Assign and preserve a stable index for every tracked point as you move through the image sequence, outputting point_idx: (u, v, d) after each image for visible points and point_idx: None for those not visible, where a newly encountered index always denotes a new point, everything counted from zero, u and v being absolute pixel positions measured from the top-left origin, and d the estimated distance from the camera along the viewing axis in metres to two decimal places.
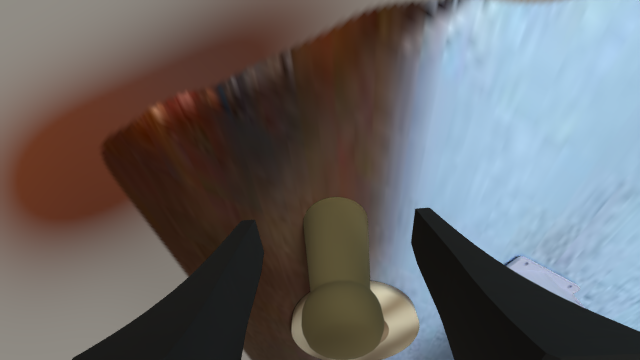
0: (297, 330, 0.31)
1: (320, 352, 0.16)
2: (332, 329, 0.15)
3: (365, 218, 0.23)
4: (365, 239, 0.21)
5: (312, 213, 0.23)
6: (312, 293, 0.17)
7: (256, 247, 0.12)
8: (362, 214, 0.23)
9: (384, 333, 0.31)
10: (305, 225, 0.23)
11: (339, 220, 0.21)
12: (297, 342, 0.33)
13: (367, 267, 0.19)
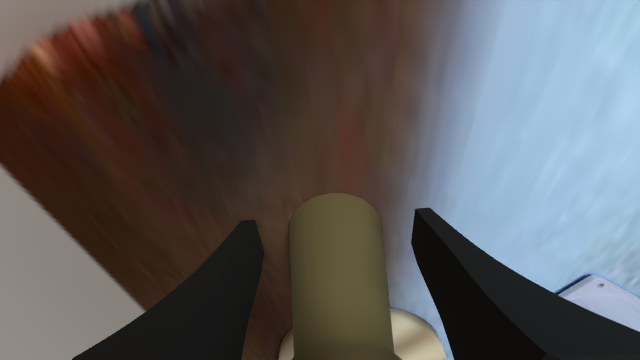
0: None
1: None
2: None
3: (379, 224, 0.16)
4: (381, 257, 0.14)
5: (300, 217, 0.15)
6: None
7: (256, 247, 0.12)
8: (374, 218, 0.16)
9: None
10: (290, 234, 0.16)
11: (340, 228, 0.14)
12: None
13: (387, 307, 0.12)
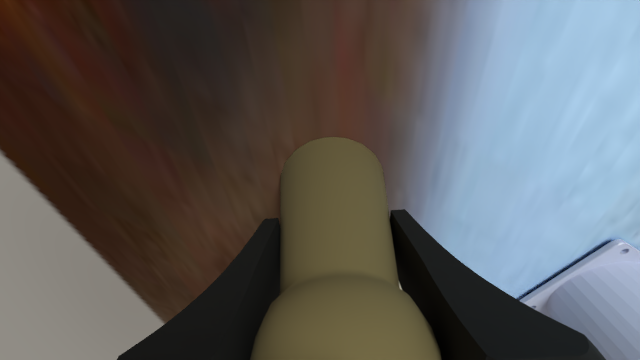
0: None
1: None
2: None
3: (381, 173, 0.14)
4: (384, 202, 0.12)
5: (292, 163, 0.14)
6: (276, 302, 0.07)
7: (279, 246, 0.12)
8: (376, 165, 0.14)
9: None
10: (281, 184, 0.14)
11: (338, 167, 0.12)
12: None
13: (392, 249, 0.10)
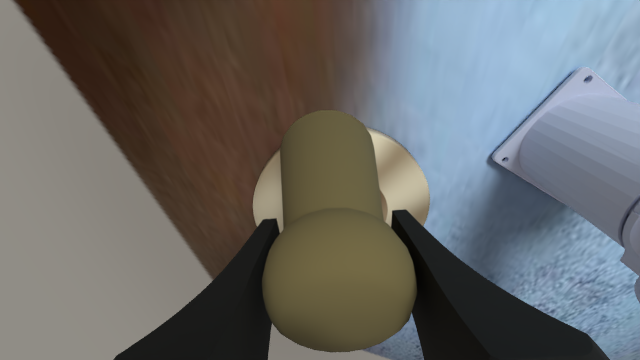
0: (261, 212, 0.23)
1: (299, 340, 0.08)
2: (313, 292, 0.07)
3: (370, 139, 0.15)
4: (371, 162, 0.13)
5: (289, 136, 0.15)
6: (279, 235, 0.09)
7: None
8: (365, 133, 0.15)
9: None
10: (281, 156, 0.16)
11: (328, 134, 0.13)
12: None
13: (377, 197, 0.11)
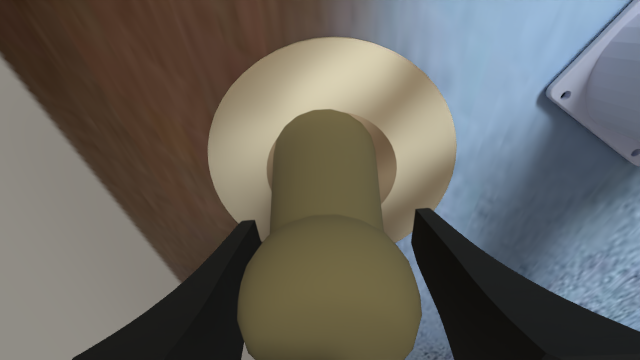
0: (221, 170, 0.16)
1: None
2: (290, 319, 0.06)
3: (369, 139, 0.14)
4: (370, 163, 0.12)
5: (282, 138, 0.14)
6: (259, 247, 0.08)
7: (256, 247, 0.12)
8: (363, 132, 0.14)
9: (388, 177, 0.16)
10: (273, 160, 0.15)
11: (321, 133, 0.12)
12: (227, 204, 0.18)
13: (376, 202, 0.10)
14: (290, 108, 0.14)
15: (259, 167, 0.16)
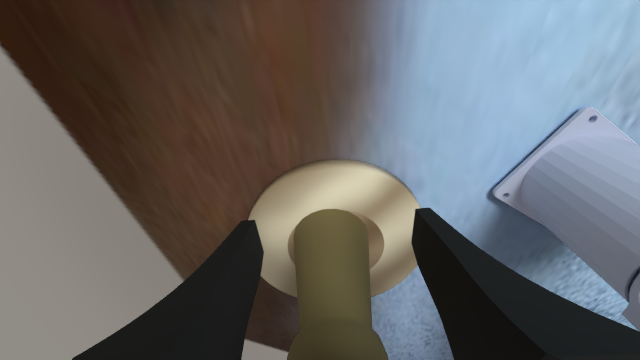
0: None
1: None
2: None
3: (363, 230, 0.20)
4: (363, 258, 0.18)
5: (301, 230, 0.20)
6: (297, 337, 0.13)
7: (256, 247, 0.12)
8: (359, 226, 0.20)
9: (378, 249, 0.22)
10: (294, 244, 0.20)
11: (330, 237, 0.18)
12: None
13: (366, 294, 0.16)
14: (306, 207, 0.20)
15: (282, 243, 0.22)
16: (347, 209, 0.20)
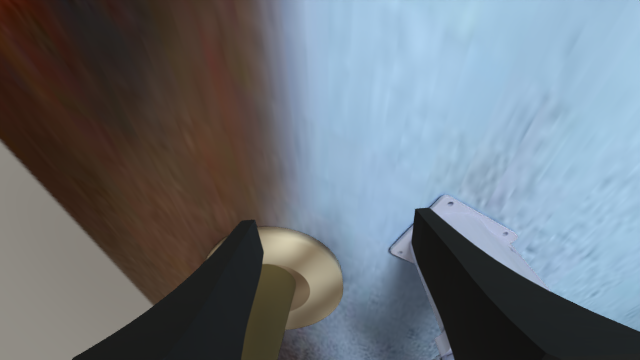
0: None
1: None
2: None
3: (288, 281, 0.26)
4: (281, 305, 0.24)
5: None
6: None
7: (256, 247, 0.12)
8: (284, 278, 0.26)
9: (305, 291, 0.28)
10: None
11: (256, 290, 0.24)
12: None
13: (275, 336, 0.22)
14: None
15: None
16: (276, 264, 0.26)
